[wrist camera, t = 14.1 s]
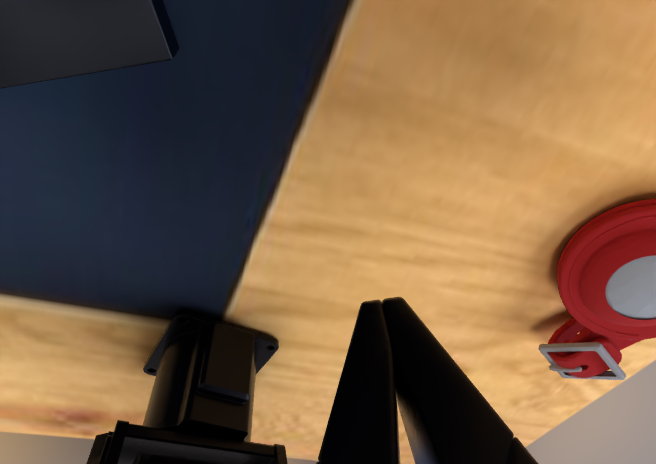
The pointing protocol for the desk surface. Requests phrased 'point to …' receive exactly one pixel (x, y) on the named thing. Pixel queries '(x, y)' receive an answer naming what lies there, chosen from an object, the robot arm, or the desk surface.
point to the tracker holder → (606, 292)
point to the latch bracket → (80, 37)
